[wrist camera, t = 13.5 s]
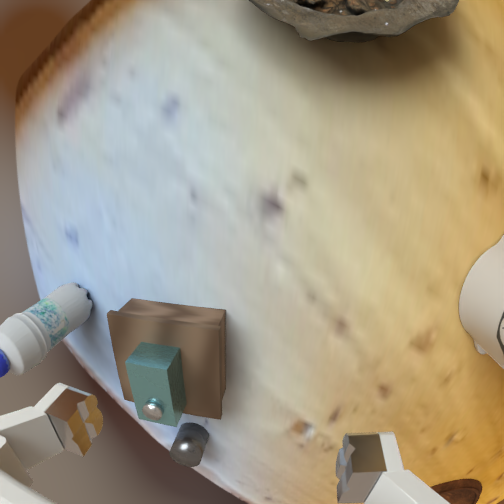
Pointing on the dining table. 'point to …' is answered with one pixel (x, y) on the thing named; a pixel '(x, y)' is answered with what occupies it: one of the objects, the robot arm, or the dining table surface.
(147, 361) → the block
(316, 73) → the dining table surface
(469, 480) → the cutting board
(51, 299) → the bottle
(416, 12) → the stone bowl
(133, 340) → the stand
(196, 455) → the tin
